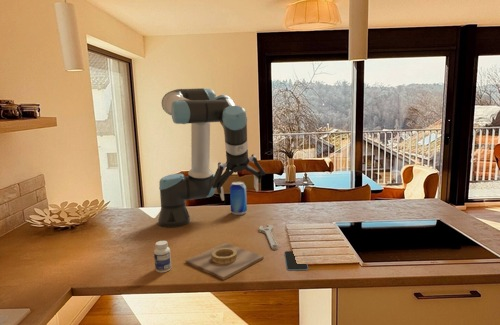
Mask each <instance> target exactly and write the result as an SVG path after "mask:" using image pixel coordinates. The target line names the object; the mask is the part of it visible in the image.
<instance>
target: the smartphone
mask: <svg viewBox="0 0 500 325" xmlns="http://www.w3.org/2000/svg"><path fill="white" fill-rule="evenodd" d="M293 251H294V250H289V251H287V250H286V251H284V258H285V267H286V270H287V271H291V272H292V271H297V272H298V271H308V270H309V266H308V263H307V264H297V263H296V260H295V256H294V254H293Z"/></svg>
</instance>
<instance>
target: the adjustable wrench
mask: <svg viewBox="0 0 500 325" xmlns="http://www.w3.org/2000/svg"><path fill="white" fill-rule="evenodd" d="M258 229H259V230H258V232H259V233H263V234H265V236H266V238H267V240H268V243H269V246H270V248H271V249H272V250H274V251H276V250H279V245H278V242H277V241H276V238H275V237H274V235H273V233H272V232H273V230H274V226H273V225H272V224H266V226H265V227H264V226H263V225H260V226H259V228H258Z"/></svg>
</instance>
